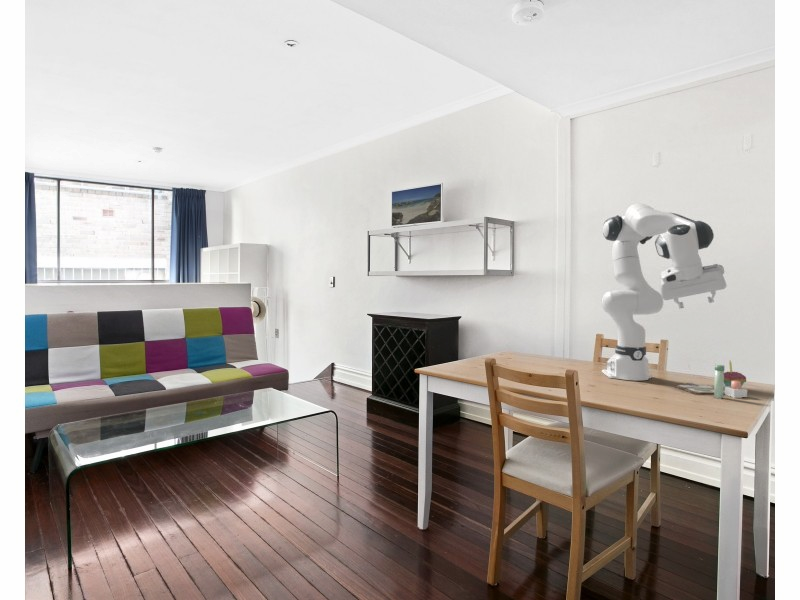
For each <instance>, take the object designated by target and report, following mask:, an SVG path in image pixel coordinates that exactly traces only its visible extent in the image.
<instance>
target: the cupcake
mask: <svg viewBox="0 0 800 600" xmlns="http://www.w3.org/2000/svg"><path fill="white" fill-rule="evenodd" d="M728 363H729V371H724V388H725V387H731V381H740V382H741V388H743V387H742V386H743V385H744V383H746V382H747V377H746V375H744V374H743V373H740V372H739V371H733V367H732V366H733V365H732V361H731V360H729V362H728Z"/></svg>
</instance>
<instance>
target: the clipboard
mask: <svg viewBox="0 0 800 600" xmlns="http://www.w3.org/2000/svg"><path fill="white" fill-rule="evenodd" d="M674 388H677V389H679V388H680V389H679V390H682V391H684V392H687V391H688V392H687V393H691V394H693V395H697V394H702V395H714V386H712V385H710V384H697V383H694V382H685V384H678V385H677V384H676V385H674ZM724 393H725V389H723V395H724Z"/></svg>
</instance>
